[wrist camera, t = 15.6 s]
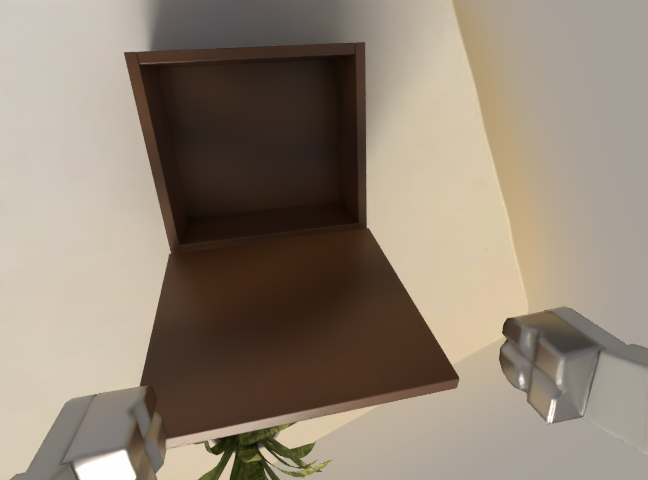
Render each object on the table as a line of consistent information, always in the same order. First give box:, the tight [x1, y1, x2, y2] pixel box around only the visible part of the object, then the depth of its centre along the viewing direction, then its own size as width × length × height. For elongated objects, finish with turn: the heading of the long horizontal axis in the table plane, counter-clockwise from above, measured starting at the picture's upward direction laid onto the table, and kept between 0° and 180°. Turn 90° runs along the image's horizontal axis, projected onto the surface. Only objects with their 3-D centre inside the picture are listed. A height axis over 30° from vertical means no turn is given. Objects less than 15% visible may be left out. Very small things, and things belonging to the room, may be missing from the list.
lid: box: [140, 228, 459, 449], centre depth 23 cm, size 14×15×1 cm
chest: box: [124, 42, 367, 254], centre depth 29 cm, size 13×15×7 cm
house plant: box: [193, 422, 331, 480], centre depth 35 cm, size 14×14×16 cm
